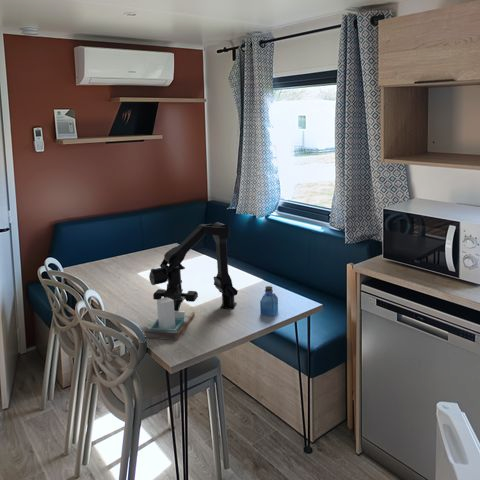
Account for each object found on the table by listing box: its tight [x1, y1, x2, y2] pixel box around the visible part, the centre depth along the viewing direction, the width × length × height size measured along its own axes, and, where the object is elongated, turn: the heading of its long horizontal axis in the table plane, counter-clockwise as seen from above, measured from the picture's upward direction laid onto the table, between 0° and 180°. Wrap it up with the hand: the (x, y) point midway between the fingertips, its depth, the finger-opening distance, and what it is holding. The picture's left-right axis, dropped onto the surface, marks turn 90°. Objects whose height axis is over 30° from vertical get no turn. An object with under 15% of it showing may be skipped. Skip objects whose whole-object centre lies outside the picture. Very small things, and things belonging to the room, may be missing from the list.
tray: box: [148, 310, 188, 331], centre depth 215 cm, size 17×11×4 cm, turn 168°
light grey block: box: [156, 297, 176, 329], centre depth 210 cm, size 5×5×12 cm
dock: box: [144, 311, 196, 341], centre depth 216 cm, size 24×14×3 cm, turn 168°
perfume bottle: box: [259, 285, 279, 317], centre depth 226 cm, size 6×6×12 cm
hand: (176, 313), depth 224 cm, fingers closed, pressing on tray
